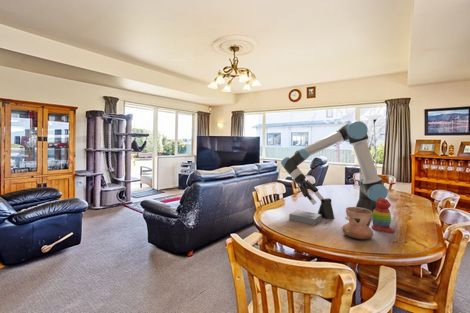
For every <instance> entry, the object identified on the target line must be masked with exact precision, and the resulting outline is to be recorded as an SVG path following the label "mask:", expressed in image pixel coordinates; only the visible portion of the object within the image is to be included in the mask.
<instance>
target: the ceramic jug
mask: <svg viewBox="0 0 470 313" xmlns="http://www.w3.org/2000/svg"><path fill="white" fill-rule="evenodd" d="M345 213H346V216H345V217H344V219H345V220H346V221H348V222H347V223H345V224H343V226H342V227H341V229H342V232H343V233H344V235H346V236H347V237H349V238H352V239H355V240H368V239H371V238H372V237H373V235H374V231H373V229H372V228H370V225H371V222H372V214H373V213H372V211H370V210H368V209H365V208H360V207H356V206H347V207H346V208H345Z"/></svg>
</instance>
